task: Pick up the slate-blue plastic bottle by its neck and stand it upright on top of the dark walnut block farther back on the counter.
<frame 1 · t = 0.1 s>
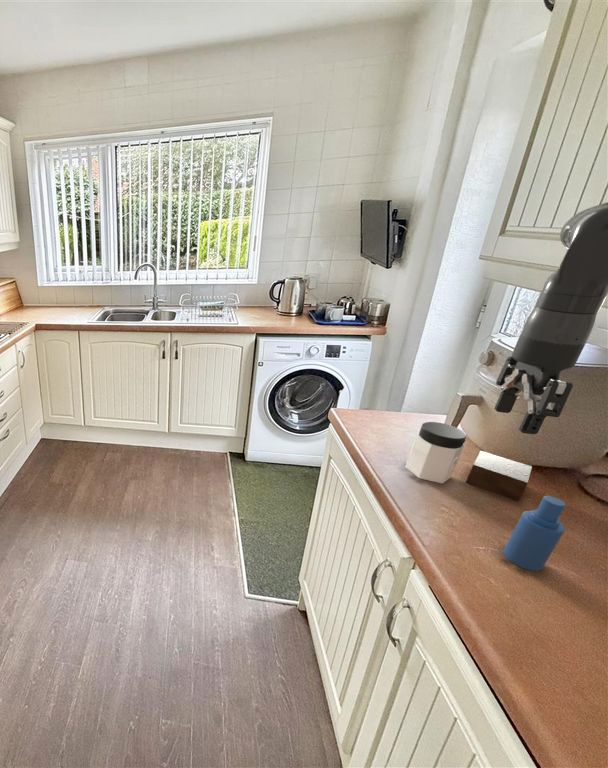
hand: (513, 421, 73), 24 cm above the worktop, tool pointing down, fingers open, 8 cm apart
jar: (427, 473, 98), on the worktop
block: (494, 483, 94), on the worktop
bottle: (522, 559, 74), on the worktop
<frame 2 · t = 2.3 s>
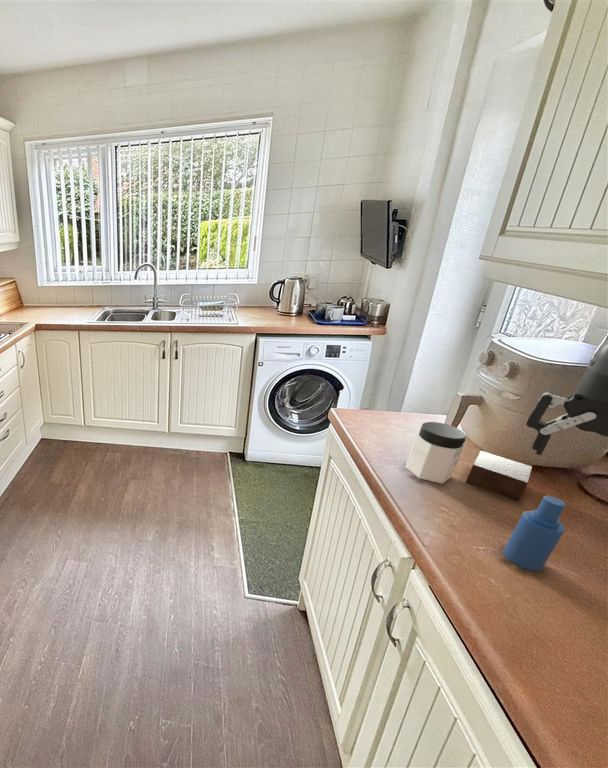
hand: (575, 463, 65), 21 cm above the worktop, tool pointing down, fingers open, 8 cm apart
nothing on the worktop moved.
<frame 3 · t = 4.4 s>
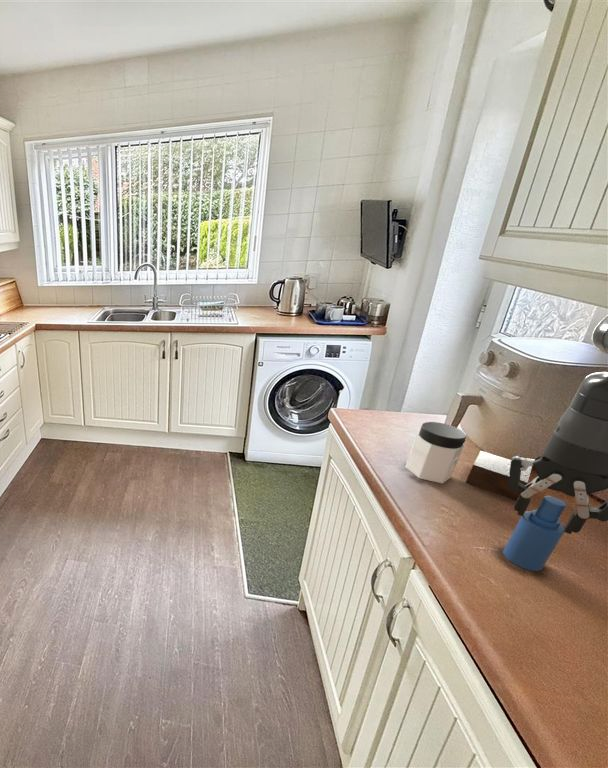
hand: (543, 521, 70), 9 cm above the worktop, tool pointing down, fingers closed on bottle, 5 cm apart
bottle: (522, 559, 74), on the worktop, touching gripper
everything else where it was.
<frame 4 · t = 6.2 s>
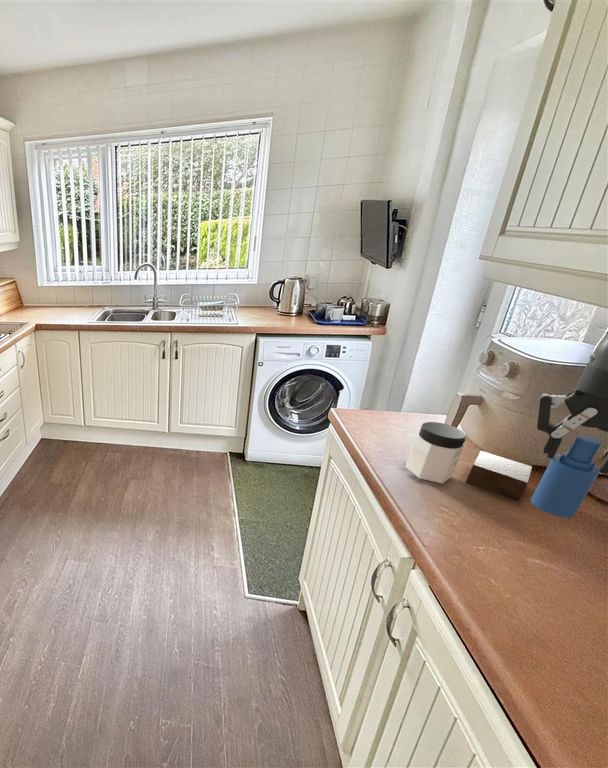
hand: (575, 463, 65), 21 cm above the worktop, tool pointing down, fingers closed on bottle, 5 cm apart
bottle: (552, 507, 69), point 12 cm above the worktop, touching gripper
everything else where it was.
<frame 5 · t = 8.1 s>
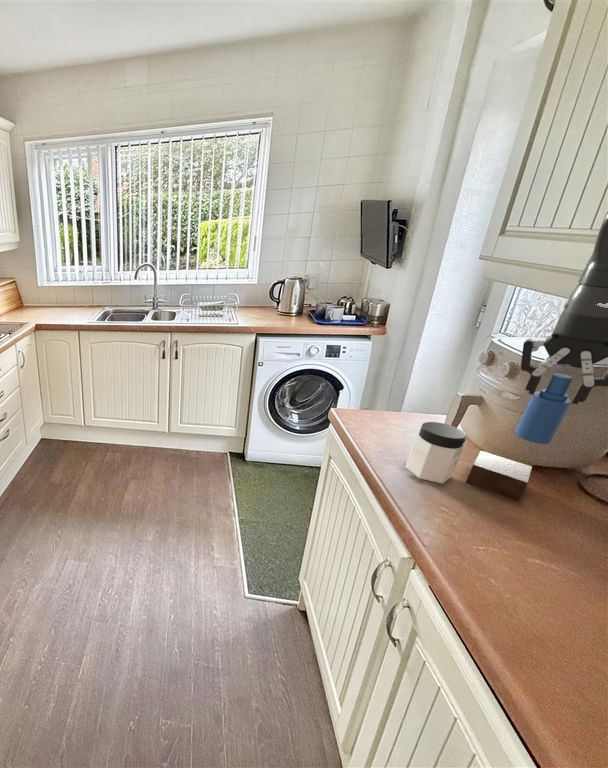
hand: (552, 397, 78), 26 cm above the worktop, tool pointing down, fingers closed on bottle, 5 cm apart
bottle: (532, 437, 81), point 17 cm above the worktop, touching gripper
everything else where it was.
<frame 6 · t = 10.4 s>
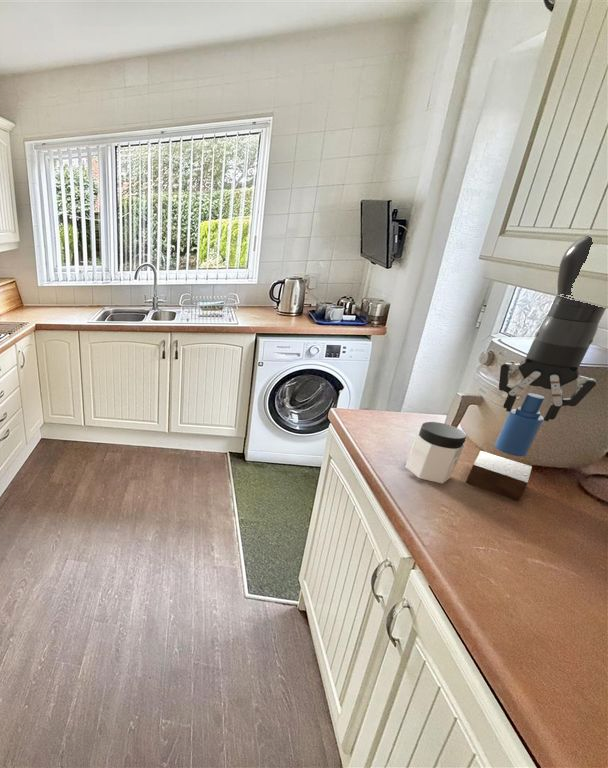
hand: (526, 414, 87), 18 cm above the worktop, tool pointing down, fingers closed on bottle, 5 cm apart
bottle: (510, 449, 90), point 9 cm above the worktop, touching gripper
everything else where it was.
when the fingers open (14 cm above the worktop, at t = 12.0 s): bottle stays where it is, resting on block.
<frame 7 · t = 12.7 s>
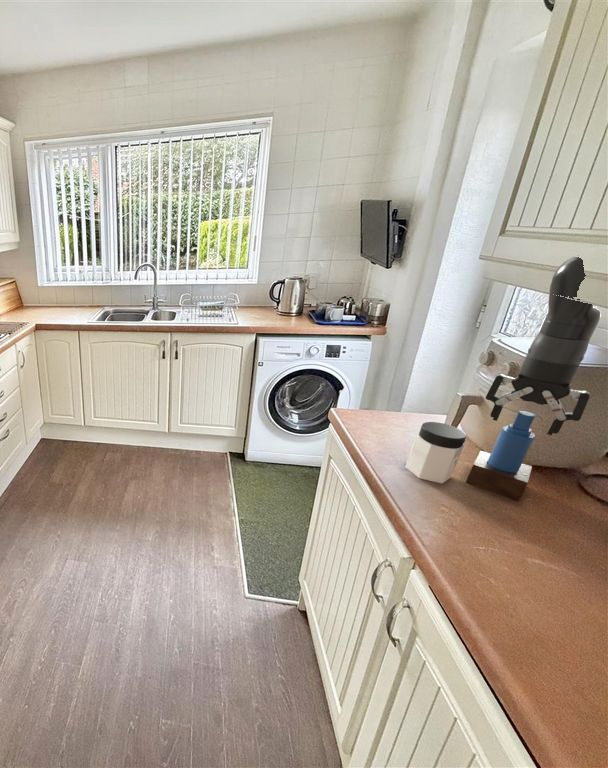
hand: (521, 426, 88), 15 cm above the worktop, tool pointing down, fingers open, 8 cm apart
block: (494, 483, 94), on the worktop, touching bottle
bottle: (502, 465, 92), point 5 cm above the worktop, touching block
everything else where it was.
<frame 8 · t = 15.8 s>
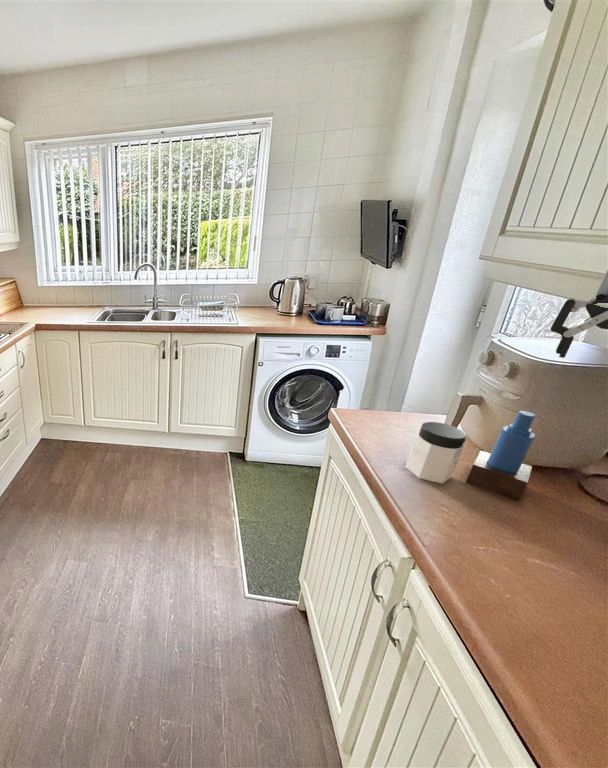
hand: (596, 362, 71), 34 cm above the worktop, tool pointing down, fingers open, 8 cm apart
nothing on the worktop moved.
at the end: bottle 0.1 cm off-centre on the block, point 5.0 cm above the block's base; bottle tilted 0°; the gripper is holding nothing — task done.
